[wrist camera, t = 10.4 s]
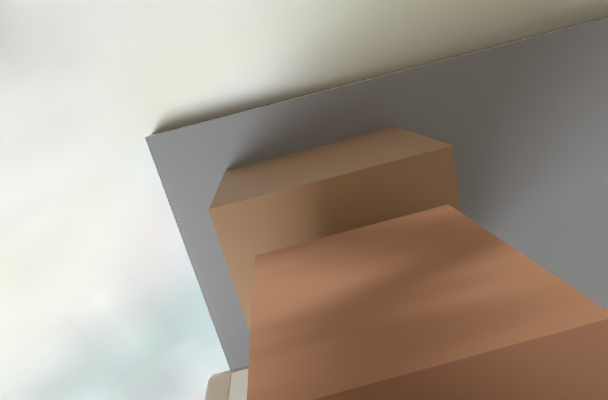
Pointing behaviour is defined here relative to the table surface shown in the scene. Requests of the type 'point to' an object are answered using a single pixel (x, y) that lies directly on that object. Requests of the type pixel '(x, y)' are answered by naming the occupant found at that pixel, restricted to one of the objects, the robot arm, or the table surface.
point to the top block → (420, 319)
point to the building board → (453, 103)
